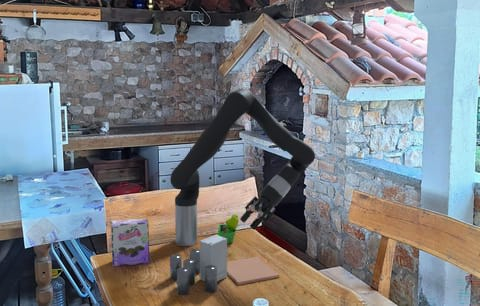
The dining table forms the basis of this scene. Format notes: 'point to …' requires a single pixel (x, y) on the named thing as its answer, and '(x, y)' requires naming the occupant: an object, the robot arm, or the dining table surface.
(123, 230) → the candy box
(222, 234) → the potted cactus
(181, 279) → the posts
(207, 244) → the skincare box
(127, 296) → the dining table surface
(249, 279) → the terracotta tile
